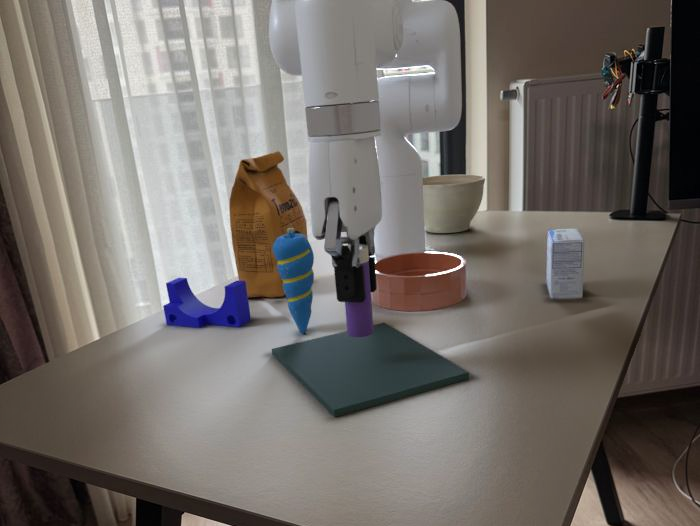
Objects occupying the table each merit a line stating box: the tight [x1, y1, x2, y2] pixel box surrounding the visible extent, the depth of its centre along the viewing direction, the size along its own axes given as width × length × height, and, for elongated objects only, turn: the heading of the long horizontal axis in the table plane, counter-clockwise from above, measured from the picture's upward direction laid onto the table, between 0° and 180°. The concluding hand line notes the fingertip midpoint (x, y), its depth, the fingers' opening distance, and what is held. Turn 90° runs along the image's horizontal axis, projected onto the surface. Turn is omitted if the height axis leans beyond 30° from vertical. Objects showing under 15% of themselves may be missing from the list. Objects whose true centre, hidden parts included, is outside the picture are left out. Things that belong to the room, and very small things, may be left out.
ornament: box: [273, 224, 315, 335], centre depth 85 cm, size 5×5×15 cm
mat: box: [271, 322, 470, 418], centre depth 76 cm, size 20×16×1 cm
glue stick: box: [344, 244, 374, 337], centre depth 72 cm, size 3×3×10 cm
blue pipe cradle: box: [162, 277, 252, 329], centre depth 95 cm, size 12×4×6 cm, turn 65°
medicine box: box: [545, 228, 585, 299], centre depth 93 cm, size 8×4×9 cm, turn 168°
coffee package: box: [229, 150, 309, 299], centre depth 104 cm, size 10×12×22 cm
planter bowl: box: [423, 174, 486, 234], centre depth 140 cm, size 16×16×11 cm
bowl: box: [371, 251, 468, 312], centre depth 97 cm, size 14×14×6 cm
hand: (357, 294), depth 73 cm, fingers closed on glue stick, 3 cm apart
